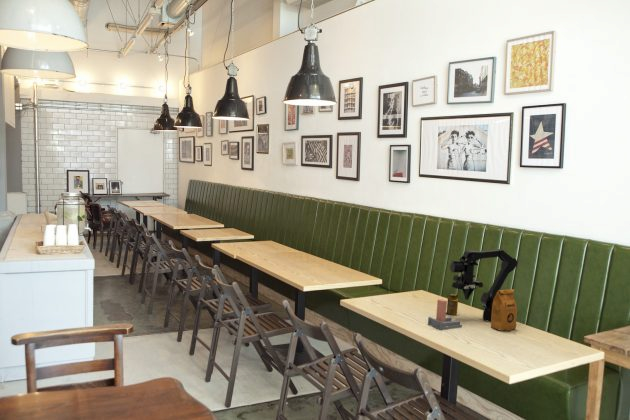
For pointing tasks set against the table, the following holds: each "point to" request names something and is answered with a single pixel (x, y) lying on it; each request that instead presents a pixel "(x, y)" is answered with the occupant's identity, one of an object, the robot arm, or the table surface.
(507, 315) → the coffee package
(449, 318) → the track housing
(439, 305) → the tall terracotta column
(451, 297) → the condiment
